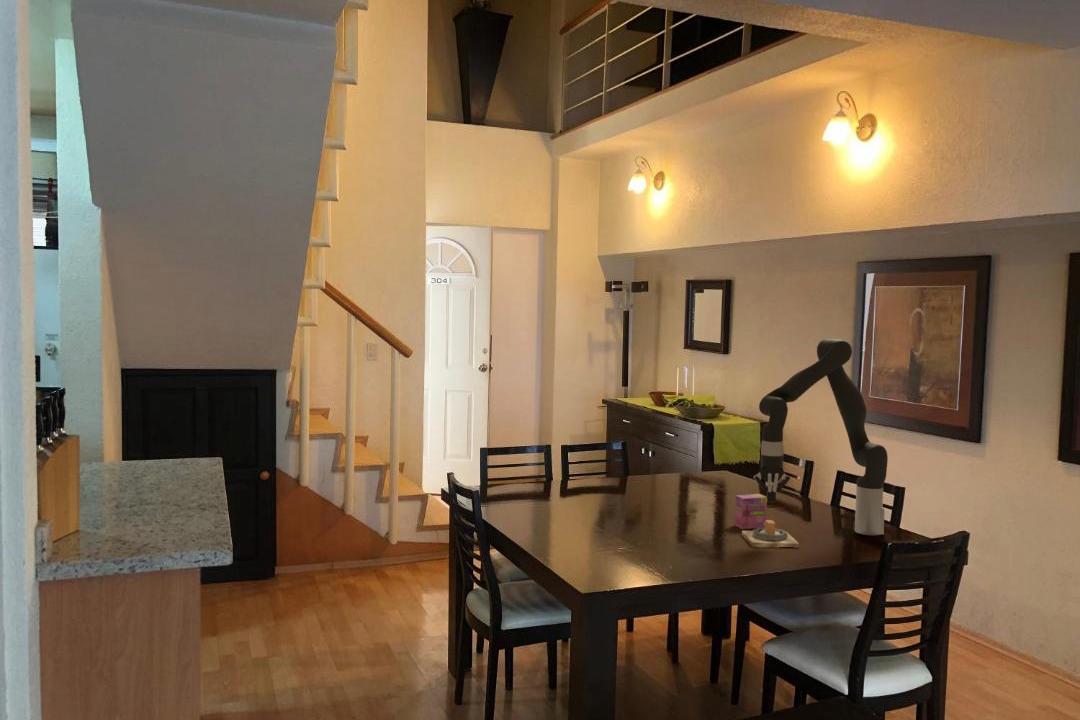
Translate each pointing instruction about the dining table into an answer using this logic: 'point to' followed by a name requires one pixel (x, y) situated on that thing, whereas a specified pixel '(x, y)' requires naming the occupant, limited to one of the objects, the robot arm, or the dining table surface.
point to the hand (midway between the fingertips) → (771, 501)
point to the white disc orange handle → (770, 528)
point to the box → (750, 511)
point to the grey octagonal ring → (768, 537)
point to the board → (762, 543)
